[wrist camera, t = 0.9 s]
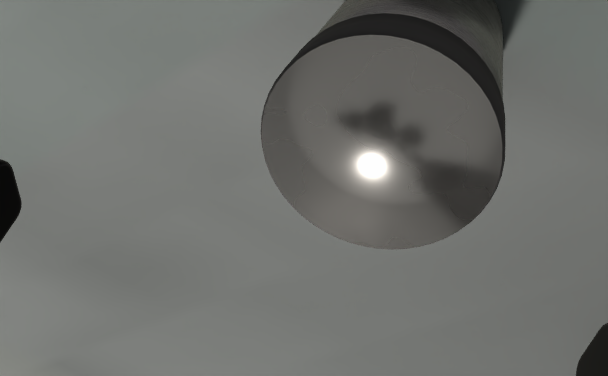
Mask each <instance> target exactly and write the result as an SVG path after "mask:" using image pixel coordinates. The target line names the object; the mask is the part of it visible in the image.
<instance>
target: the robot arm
mask: <svg viewBox="0 0 608 376" xmlns="http://www.w3.org/2000/svg"><path fill="white" fill-rule="evenodd" d="M20 210H21V198H20V194H19V191H18V187H17V183H16V180H15V176H14V172H13V169H12V167H11V165H10V164H9V163H8V162H6V161H4V160H1V159H0V242H1V241H2V239H3V238H4V236H5V235H6V233H7V232H8V230H9V229H10V227H11V226H12V224H13V223H14V222H15V220H16V219H17V217H18V215H19V213H20ZM576 376H608V323H606V324H605V325H603V326H602V327H601V328H600V330H599V331H598V333H597V334H596V336H595V337H594V338H593V340H592V341H591V343H590V344H589V346H588V347H587V349H586V350H585V352H584V353H583V355H582V356H581V358H580V360H579V363H578V366H577V371H576Z"/></svg>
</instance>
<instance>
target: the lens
mask: <svg viewBox="0 0 608 376" xmlns="http://www.w3.org/2000/svg"><path fill="white" fill-rule="evenodd" d="M261 139H262V148H263V152H264V156H265V161H266V164H267V166H268V169H269V172H270V174H271V176H272V178H273V180H274V182H275V184H276V186H277V187H278V189H279V190H280V192H281V193H282V195H283V196H284V197H285V198H286V200H287V201H288V202H289V203H290V204H291V206H292V207H293V208H294V209H295V210H296V211H297V212H299V213H300V214H301V215H302V216H303V217H304V218H305V219H307V220H308V221H309V222H311V223H312V224H313V225H315V226H317V227H318V228H320V229H321V230H323V231H325V232H327V233H329V234H331V235H333V236H335V237H337V238H339V239H342V240H345V241H347V242H350V243H354V244H357V245H361V246H366V247H372V248H378V249H407V248H414V247H420V246H424V245H427V244H431V243H434V242H437V241H439V240H442V239H444V238H447V237H448V236H450V235H452V234H454V233H456V232H458V231H459V230H460V229H462V228H463V227H465V226H466V225H467V224H469V223H470V222H471V221H472V220H473V219H474V218H475V217H477V216H478V215H479V214H480V213H481V212H482V210H483V209H484V208H485V206H486V205H487V204H488V203H489V201H490V200H491V198H492V196H493V194H494V193H495V191H496V189H497V187H498V184H499V181H500V178H501V176H502V171H503V166H504V161H505V113H504V105H503V28H502V20H501V17H500V13H499V9H498V7H497V5H496V2H495V0H346V1H345V2H344V3H343V4H342V5H341V6H340V8H339V9H338V10H337V11H336V12H335V14H334V15H333V16H332V17H331V18H330V19H329V21H328V22H327V23H326V24H325V25H324V27H323V28H322V29H321V30H320V31H319V33H318V34H317V35H316V36H315V37H314V38H312V39H311V40H310V41H309V42H308V43H307V44H306V45H305V46H304V47H303V48H302V49H301V50H300V51H299V53H298V54H297V55H296V56H295V57H294V58H293V60H292V61H291V62H290V63H289V64H288V65H287V67H286V68H285V69H284V70H283V72H282V73H281V74H280V75H279V77H278V78H277V79H276V81H275V83H274V85H273V86H272V88H271V90H270V92H269V94H268V97H267V100H266V102H265V105H264V110H263V115H262V122H261Z"/></svg>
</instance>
